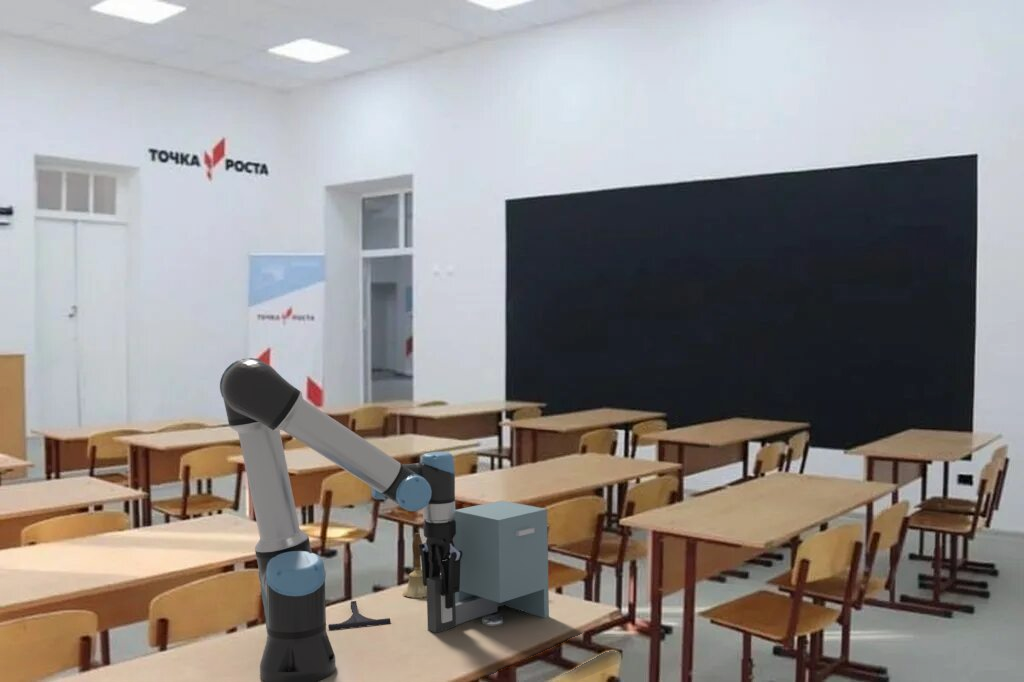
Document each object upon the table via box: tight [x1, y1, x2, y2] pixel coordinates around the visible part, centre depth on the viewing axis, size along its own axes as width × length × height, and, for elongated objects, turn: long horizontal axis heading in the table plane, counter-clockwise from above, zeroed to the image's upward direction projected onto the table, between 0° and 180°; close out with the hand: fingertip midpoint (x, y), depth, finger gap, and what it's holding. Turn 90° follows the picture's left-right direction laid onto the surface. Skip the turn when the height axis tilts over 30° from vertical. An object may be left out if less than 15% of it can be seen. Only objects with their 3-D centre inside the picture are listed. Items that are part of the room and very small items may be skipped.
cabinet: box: [453, 500, 550, 619], centre depth 217 cm, size 16×17×26 cm
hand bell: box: [402, 532, 427, 599], centre depth 237 cm, size 8×8×16 cm
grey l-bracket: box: [426, 574, 498, 634], centre depth 215 cm, size 20×3×12 cm, turn 134°
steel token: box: [481, 614, 504, 627], centre depth 214 cm, size 5×5×1 cm
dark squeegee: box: [327, 600, 392, 631], centre depth 219 cm, size 14×15×3 cm
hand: (441, 619), depth 210 cm, fingers closed on grey l-bracket, 3 cm apart
